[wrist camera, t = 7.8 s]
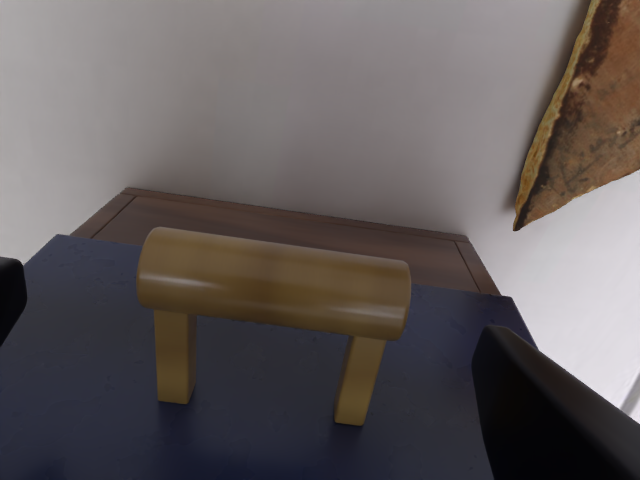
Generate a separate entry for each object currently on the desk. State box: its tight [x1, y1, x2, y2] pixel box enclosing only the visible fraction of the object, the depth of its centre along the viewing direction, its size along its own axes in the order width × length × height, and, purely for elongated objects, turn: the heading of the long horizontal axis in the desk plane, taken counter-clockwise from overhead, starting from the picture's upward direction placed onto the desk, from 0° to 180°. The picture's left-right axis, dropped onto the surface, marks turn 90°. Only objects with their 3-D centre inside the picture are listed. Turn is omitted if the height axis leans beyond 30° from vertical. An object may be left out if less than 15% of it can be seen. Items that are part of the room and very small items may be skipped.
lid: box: [0, 227, 539, 480], centre depth 11 cm, size 9×16×5 cm
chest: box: [69, 188, 502, 296], centre depth 21 cm, size 9×16×5 cm, turn 82°
